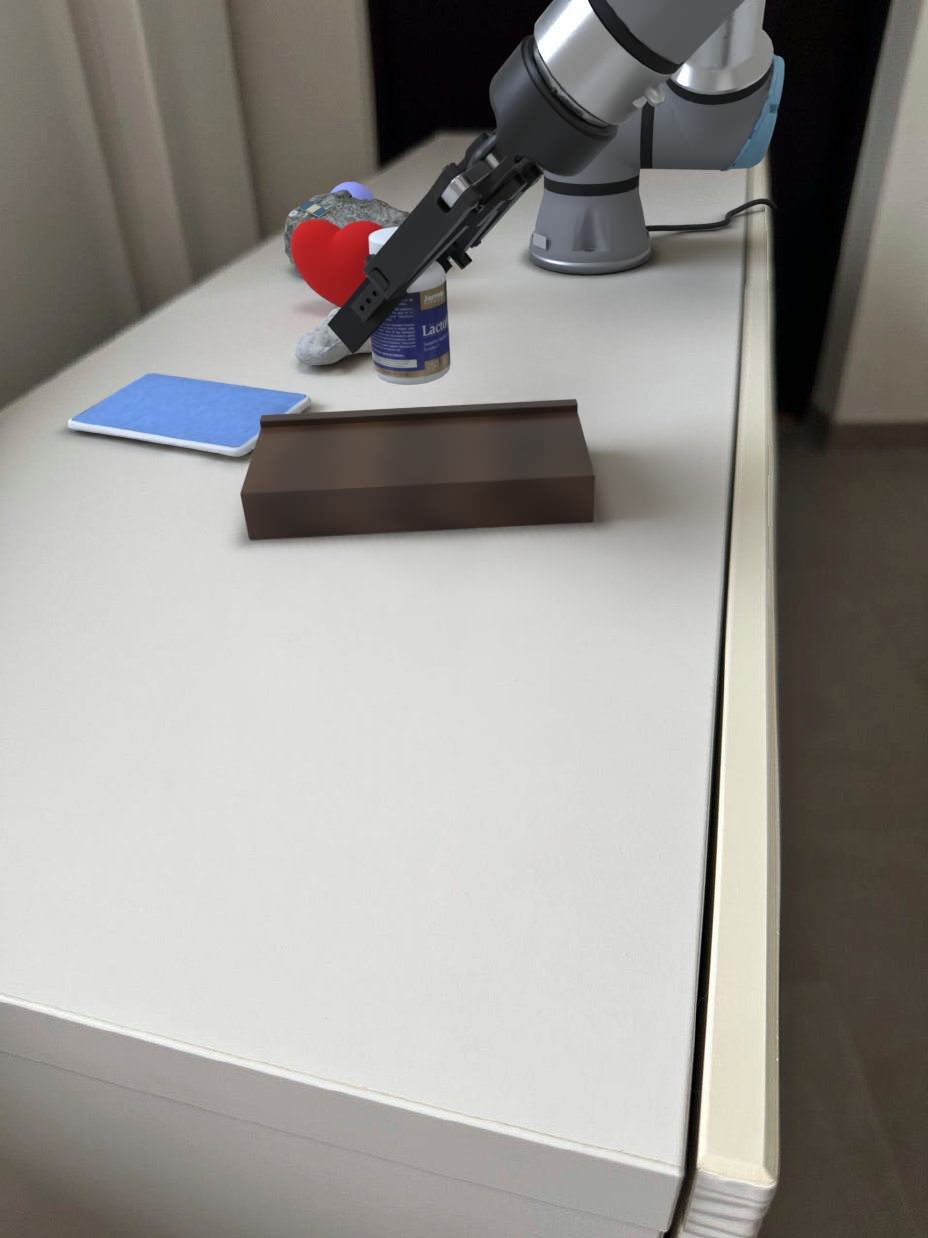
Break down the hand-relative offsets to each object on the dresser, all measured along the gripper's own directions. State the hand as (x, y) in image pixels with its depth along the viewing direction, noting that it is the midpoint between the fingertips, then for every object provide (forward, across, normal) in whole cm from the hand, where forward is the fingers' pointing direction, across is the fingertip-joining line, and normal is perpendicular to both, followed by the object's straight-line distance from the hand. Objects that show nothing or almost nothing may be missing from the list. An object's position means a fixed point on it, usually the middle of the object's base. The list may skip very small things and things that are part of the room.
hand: (366, 322), depth 75 cm
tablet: (+26, +4, +7) cm, 27 cm away
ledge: (+7, 0, -12) cm, 14 cm away
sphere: (+39, +60, +20) cm, 74 cm away
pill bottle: (0, 0, -5) cm, 5 cm away
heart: (+28, +34, +8) cm, 45 cm away
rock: (+33, +47, +14) cm, 59 cm away
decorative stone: (+22, +23, +3) cm, 32 cm away
